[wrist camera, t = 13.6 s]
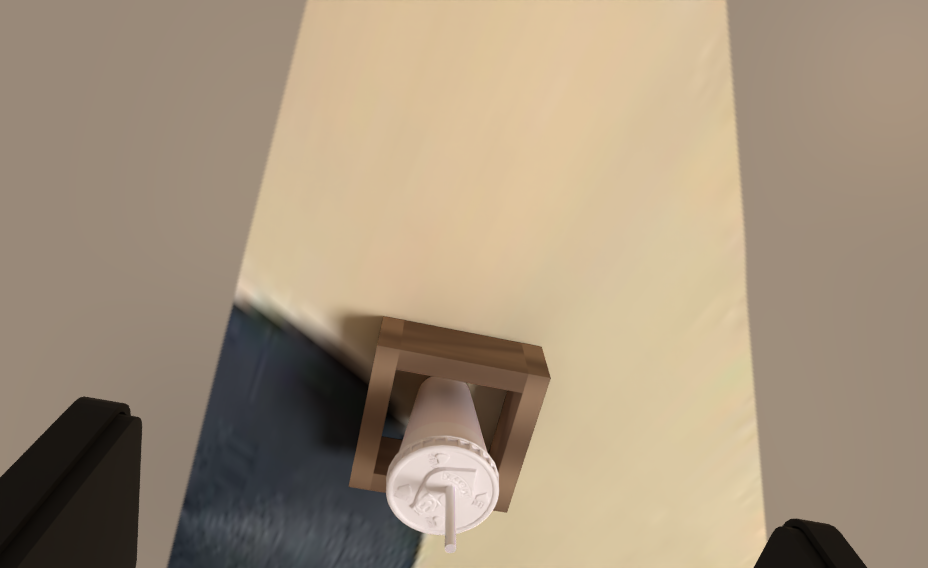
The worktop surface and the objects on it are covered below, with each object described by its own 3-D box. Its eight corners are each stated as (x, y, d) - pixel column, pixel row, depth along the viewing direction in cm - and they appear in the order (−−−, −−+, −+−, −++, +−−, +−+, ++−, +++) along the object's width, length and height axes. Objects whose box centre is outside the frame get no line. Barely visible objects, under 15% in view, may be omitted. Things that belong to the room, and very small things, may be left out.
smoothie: (508, 401, 44) (533, 560, 31) (438, 449, 45) (433, 620, 33) (450, 338, 42) (450, 480, 29) (378, 391, 43) (348, 548, 31)
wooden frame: (383, 316, 41) (377, 345, 38) (541, 347, 42) (550, 378, 39) (356, 448, 45) (348, 486, 42) (502, 473, 46) (506, 512, 43)
